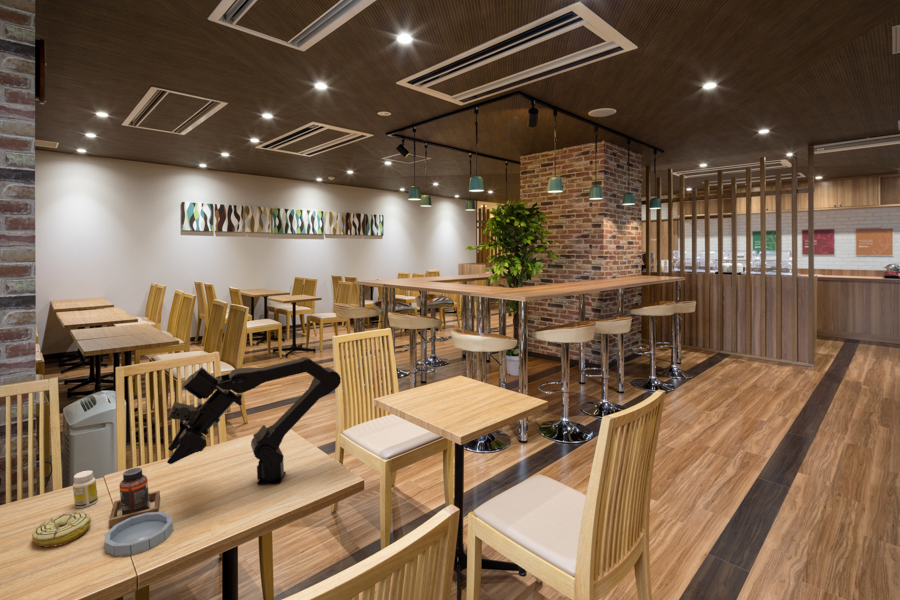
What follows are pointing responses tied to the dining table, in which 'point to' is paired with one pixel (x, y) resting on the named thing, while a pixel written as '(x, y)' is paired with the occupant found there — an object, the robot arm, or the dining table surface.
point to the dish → (138, 533)
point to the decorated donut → (61, 529)
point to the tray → (117, 505)
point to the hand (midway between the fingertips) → (169, 456)
